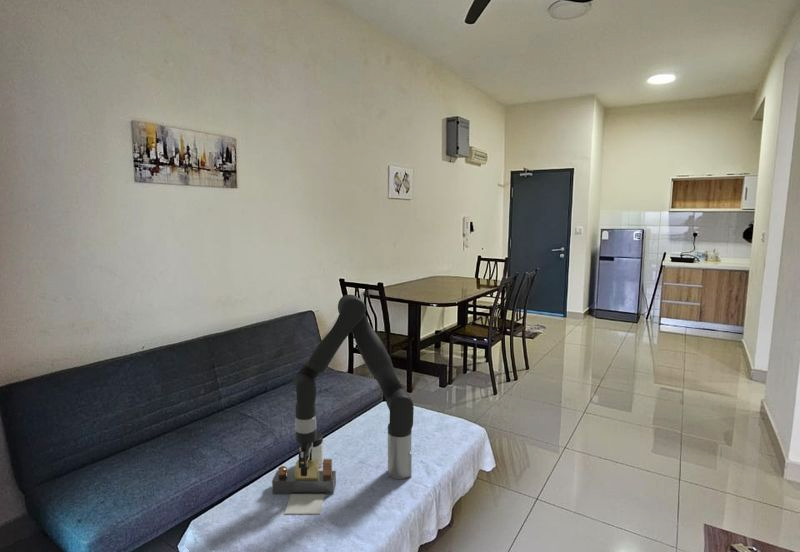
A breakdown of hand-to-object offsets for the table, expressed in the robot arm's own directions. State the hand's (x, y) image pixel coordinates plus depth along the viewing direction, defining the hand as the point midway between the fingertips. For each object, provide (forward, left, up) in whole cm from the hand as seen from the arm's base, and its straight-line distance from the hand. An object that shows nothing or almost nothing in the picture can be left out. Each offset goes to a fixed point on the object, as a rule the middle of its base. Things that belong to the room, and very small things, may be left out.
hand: (306, 468), depth 163 cm
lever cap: (0, 0, -3) cm, 3 cm away
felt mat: (-1, +9, -8) cm, 12 cm away
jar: (+1, -16, -8) cm, 18 cm away
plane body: (+1, 0, -8) cm, 8 cm away
